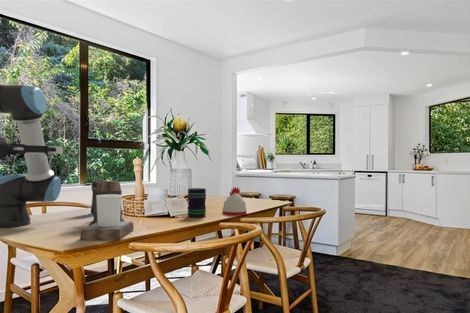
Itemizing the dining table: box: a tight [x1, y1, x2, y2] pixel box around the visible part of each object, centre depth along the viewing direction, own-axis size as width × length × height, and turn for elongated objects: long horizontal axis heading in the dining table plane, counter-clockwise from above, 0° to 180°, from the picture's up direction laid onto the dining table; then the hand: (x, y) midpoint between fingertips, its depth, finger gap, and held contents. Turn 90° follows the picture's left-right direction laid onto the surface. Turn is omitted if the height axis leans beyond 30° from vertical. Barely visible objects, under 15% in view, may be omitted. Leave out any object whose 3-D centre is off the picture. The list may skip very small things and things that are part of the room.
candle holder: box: [96, 194, 123, 227], centre depth 142 cm, size 10×10×12 cm
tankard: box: [88, 181, 126, 226], centre depth 167 cm, size 24×17×20 cm
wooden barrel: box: [90, 180, 110, 215], centre depth 198 cm, size 10×8×19 cm
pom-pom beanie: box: [222, 186, 247, 216], centre depth 203 cm, size 14×14×15 cm
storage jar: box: [187, 187, 207, 219], centre depth 190 cm, size 10×10×15 cm
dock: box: [79, 220, 134, 241], centre depth 142 cm, size 15×18×4 cm
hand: (51, 150), depth 136 cm, fingers open, 13 cm apart
